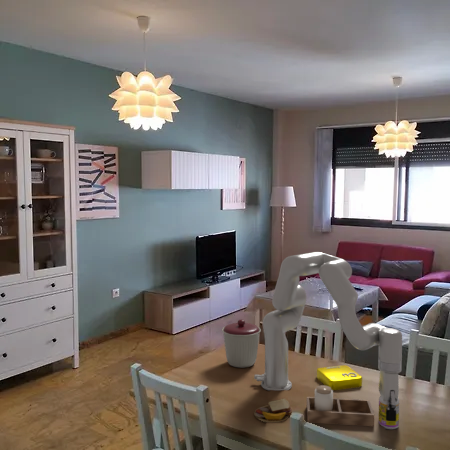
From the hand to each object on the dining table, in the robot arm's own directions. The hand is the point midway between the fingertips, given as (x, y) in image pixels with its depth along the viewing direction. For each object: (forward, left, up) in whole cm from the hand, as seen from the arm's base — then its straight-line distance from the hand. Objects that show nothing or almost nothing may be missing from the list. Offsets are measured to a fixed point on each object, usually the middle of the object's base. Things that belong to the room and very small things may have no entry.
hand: (388, 415), depth 167 cm
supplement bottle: (0, 0, -4) cm, 4 cm away
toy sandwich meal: (-40, +3, -4) cm, 40 cm away
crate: (-17, +3, -4) cm, 17 cm away
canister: (-57, +52, -4) cm, 77 cm away
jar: (-22, +3, -3) cm, 22 cm away
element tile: (-13, +36, -4) cm, 39 cm away
